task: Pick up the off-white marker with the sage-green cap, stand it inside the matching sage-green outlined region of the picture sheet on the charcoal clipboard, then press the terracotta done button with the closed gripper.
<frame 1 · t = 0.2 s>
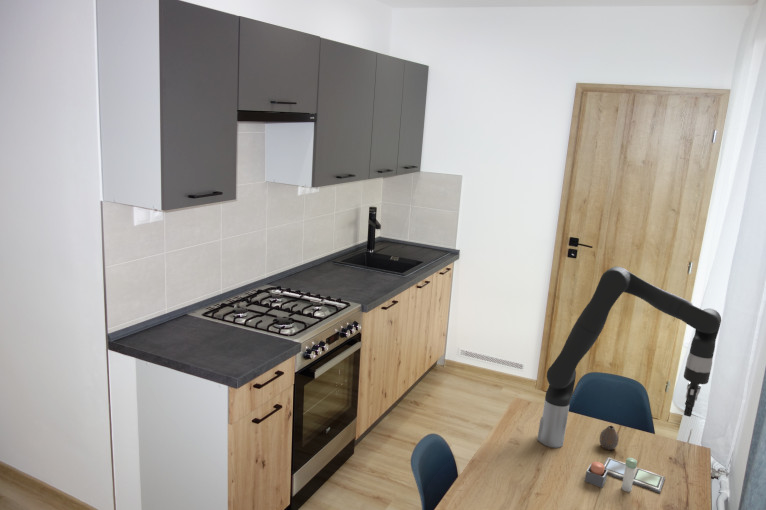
hand: (688, 411, 207), 29 cm above the table, fingers open, 8 cm apart
done button: (597, 469, 212), point 4 cm above the table, slide at 0.0 cm
vase: (607, 447, 236), on the table
marker: (626, 488, 209), on the table
button housing: (595, 480, 213), on the table
picture board: (632, 475, 218), on the table
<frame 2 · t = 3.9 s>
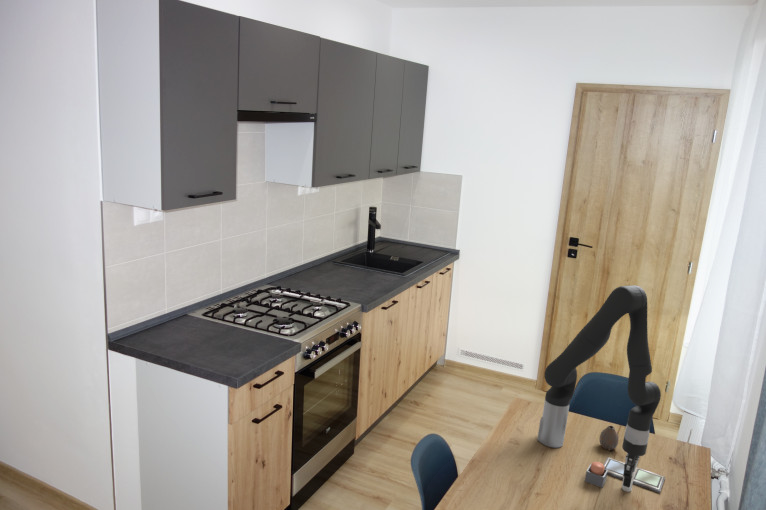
hand: (627, 483, 209), 2 cm above the table, fingers closed on marker, 3 cm apart
marker: (626, 488, 209), on the table, touching gripper
everything else where it was.
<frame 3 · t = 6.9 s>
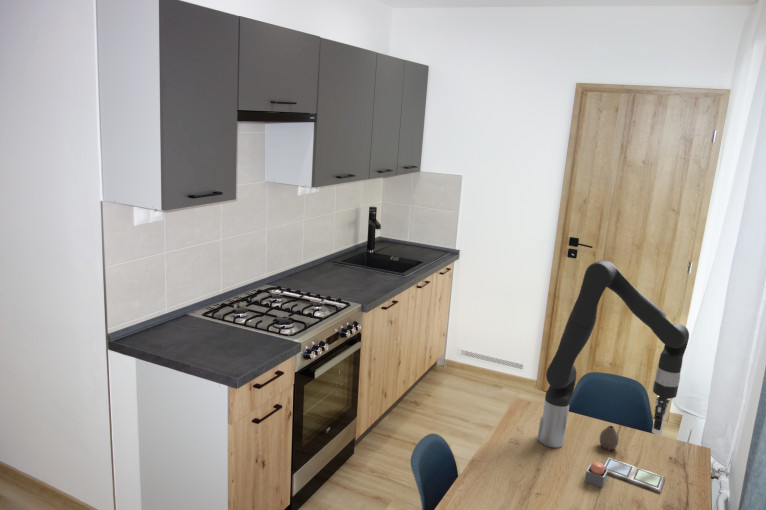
hand: (657, 426, 211), 21 cm above the table, fingers closed on marker, 3 cm apart
marker: (656, 432, 211), point 19 cm above the table, touching gripper
everything else where it was.
when the fingers open (4 cm above the table, at t = 10.3 s): marker stays where it is, resting on picture board.
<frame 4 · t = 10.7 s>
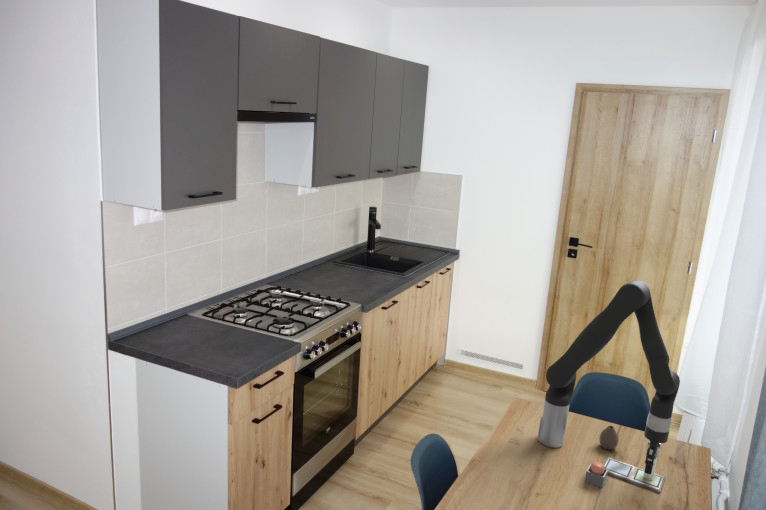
hand: (649, 468, 214), 5 cm above the table, fingers open, 7 cm apart
marker: (647, 477, 215), point 1 cm above the table, touching picture board
everything else where it was.
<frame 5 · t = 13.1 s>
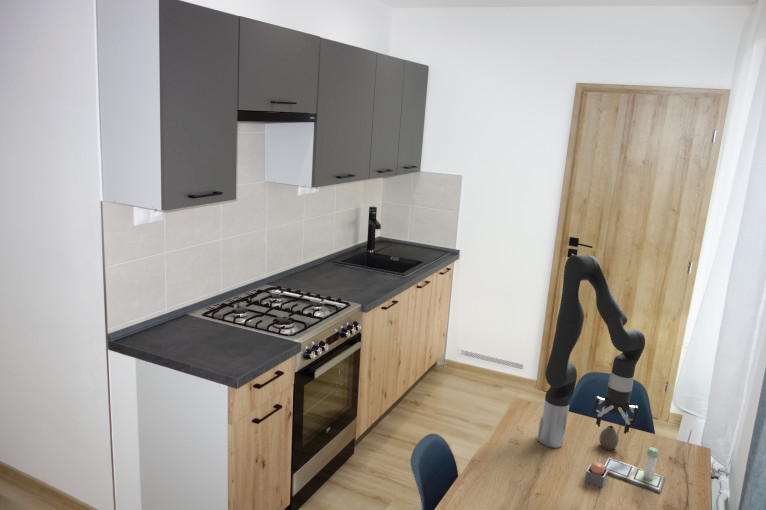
hand: (611, 429, 209), 20 cm above the table, fingers open, 8 cm apart
nothing on the table moved.
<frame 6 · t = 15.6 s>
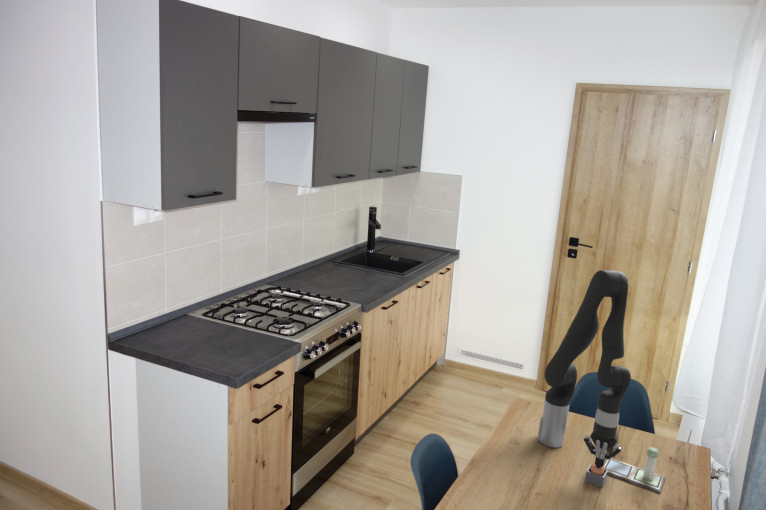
hand: (598, 466, 211), 6 cm above the table, fingers closed
done button: (597, 470, 212), point 4 cm above the table, slide at 0.5 cm, touching gripper
everything else where it was.
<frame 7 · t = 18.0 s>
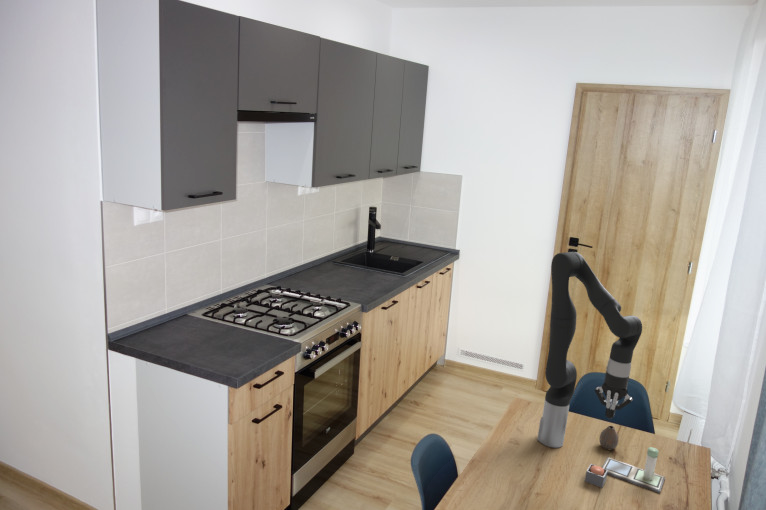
hand: (609, 417, 212), 22 cm above the table, fingers closed
done button: (596, 473, 212), point 3 cm above the table, slide at 1.5 cm
everything else where it was.
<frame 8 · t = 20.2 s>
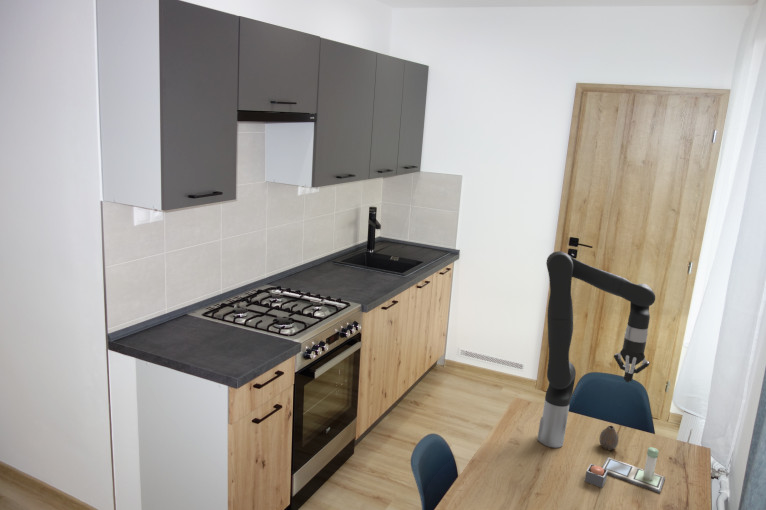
hand: (627, 381, 227), 29 cm above the table, fingers closed
nothing on the table moved.
at the end: marker 0.0 cm from the target spot on the picture board, point 1.1 cm above the picture board's base; marker tilted 0°; done button slide at 1.5 cm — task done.
